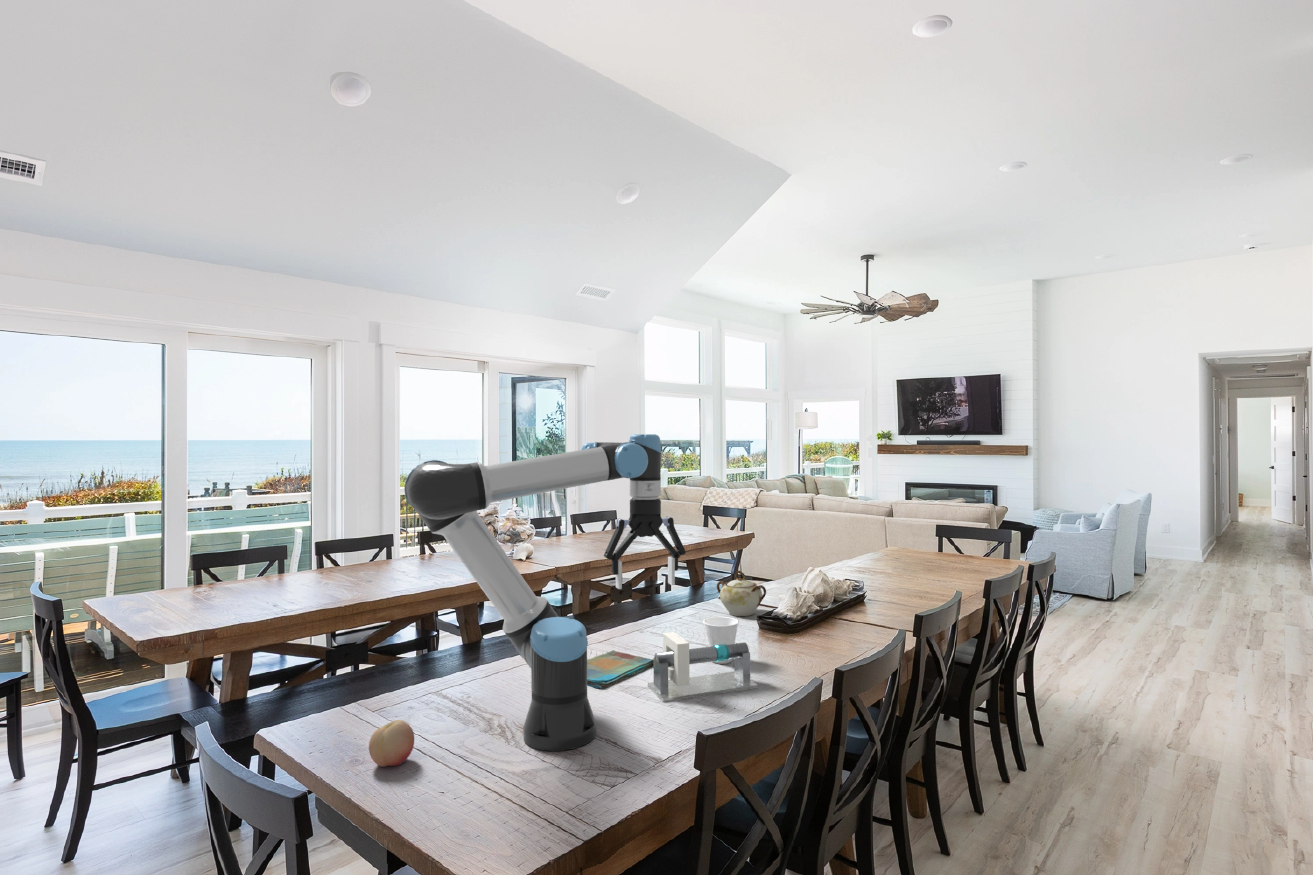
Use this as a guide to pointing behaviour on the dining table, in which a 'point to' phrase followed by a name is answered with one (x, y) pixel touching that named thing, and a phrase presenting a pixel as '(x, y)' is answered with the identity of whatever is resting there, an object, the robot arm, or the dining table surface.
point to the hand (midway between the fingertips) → (645, 586)
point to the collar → (677, 658)
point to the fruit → (391, 743)
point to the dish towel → (613, 668)
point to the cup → (720, 632)
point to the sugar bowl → (741, 596)
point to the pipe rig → (707, 682)
